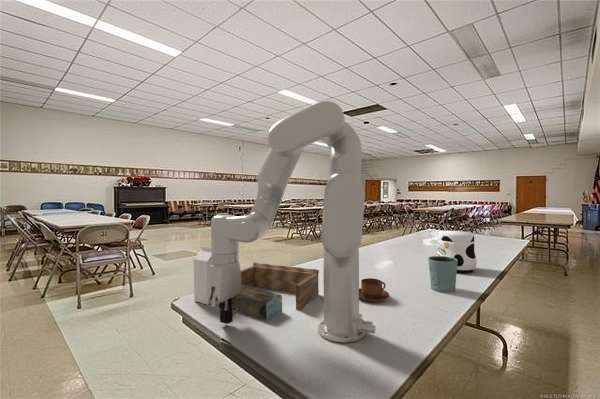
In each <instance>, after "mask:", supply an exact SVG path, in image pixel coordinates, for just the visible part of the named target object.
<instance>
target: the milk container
mask: <svg viewBox="0 0 600 399" xmlns="http://www.w3.org/2000/svg"><path fill="white" fill-rule="evenodd" d="M437 239H438V240H437V251H436V255H435V256H446V257H452V258H455V259H457V260H458V262H457V272H459V273H464V272H465V273H466V272H472V271H474V270H475V269H476V267H477V262H478V261H477V256H476V252H475V233H474V232H471V231H466V230H465V231H464V230H439V231H438V234H437Z"/></svg>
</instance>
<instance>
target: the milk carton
mask: <svg viewBox="0 0 600 399" xmlns="http://www.w3.org/2000/svg"><path fill="white" fill-rule="evenodd" d="M200 247H201V248H200V250H199V251H198V253H197V254H196V255H195V256H194V257H193V290H194V291H193V294H194V295H193V297H194V299H193V300H194V302H195V303H196V302H197V303H200V304H204V305H207V306H208V305H211V304H212V300H208V299H207V283H208V273H209V268H210V265H212V251H211V246H205V245H202V246H200Z"/></svg>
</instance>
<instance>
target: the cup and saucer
mask: <svg viewBox="0 0 600 399" xmlns="http://www.w3.org/2000/svg"><path fill="white" fill-rule="evenodd" d="M360 282H361V284H360V285H361V286H360V287H359V300H362V301H365V302H372V303H373V302H374V303H377V302H383V301H386V300H387V299H388V298H389V297H390V293H389V292H388V291H386V290H385V288H386V287H387V286H386V283H385V282H383V281H382V280H380V279H377V278H373V277H372V278H369V277H368V278H363V279H361V280H360Z"/></svg>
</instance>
